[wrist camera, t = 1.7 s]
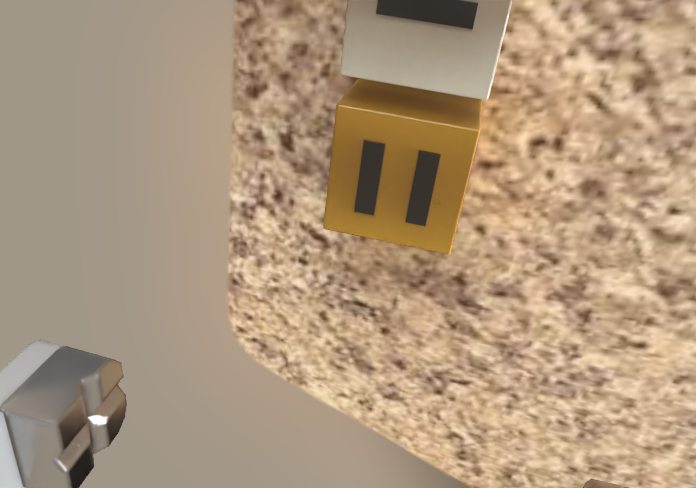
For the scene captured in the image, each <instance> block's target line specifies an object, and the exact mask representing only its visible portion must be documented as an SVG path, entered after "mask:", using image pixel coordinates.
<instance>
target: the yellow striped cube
mask: <svg viewBox="0 0 696 488" xmlns="http://www.w3.org/2000/svg"><path fill="white" fill-rule="evenodd" d="M481 104H482V100H480V99H475V98H469V97H463V96H458V95H452V94H446V93H440V92H435V91H429V90H423V89H418V88H412V87H406V86H400V85H395V84H389V83H383V82H378V81H372V80H366V79H360V78H358V79H357V81H356V82H355V83H354V84H353V86H352V87H351V88H350V89H349V90H348V92H347V93H346V94H345V95H344V97H343V98H342V99H341V100H340V102H339V103H338V104H337V106H336V115H335V124H334V133H333V143H332V152H331V161H330V170H329V179H328V189H327V198H326V207H325V216H324V225H323V226H324V228H325V229H328V230H333V231H338V232H343V233H347V234H352V235H357V236H362V237H367V238H371V239H376V240H381V241H386V242H391V243H395V244H400V245H405V246H410V247H414V248H419V249H424V250H429V251H434V252H438V253H443V254H450V253H451V250H452V246H453V242H454V238H455V234H456V230H457V226H458V221H459V217H460V213H461V209H462V205H463V201H464V197H465V193H466V189H467V185H468V181H469V177H470V173H471V169H472V165H473V161H474V157H475V153H476V148H477V144H478V140H479V136H480V132H481Z"/></svg>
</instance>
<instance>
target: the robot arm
mask: <svg viewBox="0 0 696 488" xmlns="http://www.w3.org/2000/svg"><path fill="white" fill-rule="evenodd" d="M122 378H123V370H122V365H121V362H119V361H117V360H113V359H110V358H107V357H103V356H100V355H96V354H92V353H89V352H85V351H82V350H78V349H75V348H71V347H67V346H62V345H59V344H55V343H52V342H48V341H44V340H39V341H36V342H33V343H31V344H30V345H29V346H27V348H25V349H24V350H23V351H22V352H21V353H20V354H19V355H18V356H17V357H15V358H14V359H13V360H12V361H11V362H10V363H9V364H8V365H7V366H6V367H5V368H3V369H2V370H1V371H0V488H23V487H25V488H79V487H80V485H81V484H82V483H83V481H84V480H85V478H86V477H87V476H88V474H89V473H90V472H91V470H92V469H93V468H94V457H93V454H95V453H97V452H99V451H101V450H102V449H105V448H106V447H108V446H109V445H110V444H111V442H112V441H113V440H114V438H115V437H116V435H117V434H118V432H119V430H120V427H121V425H122V422H123V420H124V418H125V411H126V405H127V404H126V395H125V393H124V392H123V391H122V390H121V388H120V387H119V386H118V383H119V382H120V380H121V379H122ZM583 488H628V487H624V486H620V485H616V484H612V483H607V482H603V481H599V480H595V479H590V480H589V481H587V482H586V483H585V485H584V487H583Z"/></svg>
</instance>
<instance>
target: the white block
mask: <svg viewBox="0 0 696 488" xmlns="http://www.w3.org/2000/svg"><path fill="white" fill-rule="evenodd" d="M512 2H513V0H348V2H347V12H346V21H345V30H344V39H343V48H342V58H341V67H340V74H341V75H343V76H349V77H355V78H360V79H366V80H372V81H378V82H383V83H389V84H395V85H400V86H406V87H412V88H418V89H423V90H429V91H435V92H440V93H446V94H452V95H458V96H463V97H469V98H475V99H480V100H488V98H489V95H490V91H491V87H492V83H493V79H494V75H495V71H496V66H497V62H498V58H499V54H500V50H501V46H502V42H503V38H504V34H505V30H506V26H507V22H508V18H509V14H510V10H511V6H512Z"/></svg>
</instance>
